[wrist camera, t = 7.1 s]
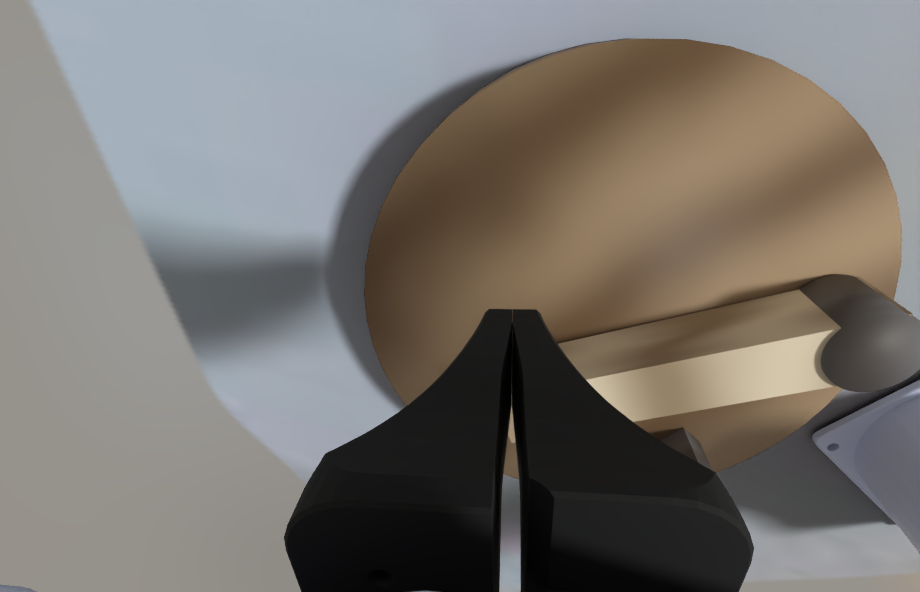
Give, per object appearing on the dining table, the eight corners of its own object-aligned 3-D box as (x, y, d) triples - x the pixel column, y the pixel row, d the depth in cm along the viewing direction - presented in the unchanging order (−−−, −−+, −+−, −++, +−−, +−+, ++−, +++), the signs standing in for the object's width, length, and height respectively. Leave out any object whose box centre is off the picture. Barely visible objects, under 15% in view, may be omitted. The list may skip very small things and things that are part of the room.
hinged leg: (875, 265, 16) (938, 305, 14) (872, 333, 18) (929, 381, 15) (493, 352, 20) (490, 396, 17) (514, 404, 21) (513, 452, 19)
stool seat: (955, 295, 19) (1065, 360, 15) (578, 504, 28) (588, 579, 24) (640, -119, 14) (687, -177, 10) (297, 293, 23) (252, 346, 19)
